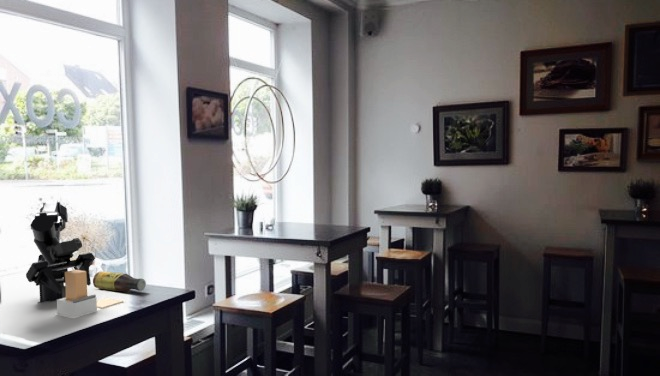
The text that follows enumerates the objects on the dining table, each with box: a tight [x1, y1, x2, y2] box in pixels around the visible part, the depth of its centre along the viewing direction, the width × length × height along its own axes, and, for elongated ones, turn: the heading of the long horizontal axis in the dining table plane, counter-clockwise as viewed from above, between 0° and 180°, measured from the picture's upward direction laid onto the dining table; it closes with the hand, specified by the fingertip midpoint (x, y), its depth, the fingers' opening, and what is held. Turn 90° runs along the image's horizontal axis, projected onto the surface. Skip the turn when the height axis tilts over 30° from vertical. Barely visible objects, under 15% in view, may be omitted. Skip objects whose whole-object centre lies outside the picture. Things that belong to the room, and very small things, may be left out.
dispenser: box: [53, 294, 126, 319], centre depth 149 cm, size 9×18×6 cm, turn 152°
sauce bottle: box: [92, 271, 147, 293], centre depth 172 cm, size 6×6×20 cm
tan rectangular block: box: [64, 269, 88, 301], centre depth 144 cm, size 5×3×12 cm
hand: (75, 288), depth 144 cm, fingers open, 9 cm apart
